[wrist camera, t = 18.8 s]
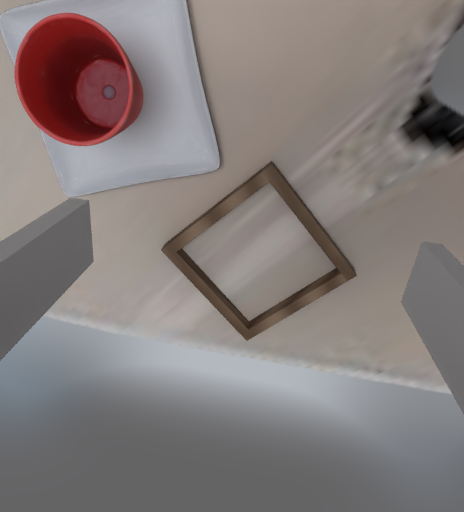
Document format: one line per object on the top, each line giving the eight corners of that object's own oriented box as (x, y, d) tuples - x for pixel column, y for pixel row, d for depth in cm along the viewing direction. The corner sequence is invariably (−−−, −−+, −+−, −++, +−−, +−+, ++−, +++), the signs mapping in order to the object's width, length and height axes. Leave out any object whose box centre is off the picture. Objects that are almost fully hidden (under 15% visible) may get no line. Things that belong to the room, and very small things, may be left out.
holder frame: (271, 160, 48) (271, 164, 46) (353, 268, 53) (356, 275, 51) (164, 244, 54) (161, 250, 53) (247, 332, 60) (246, 340, 58)
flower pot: (158, 44, 41) (132, 15, 32) (156, 148, 45) (132, 150, 35) (61, 37, 42) (7, 6, 32) (67, 141, 45) (19, 141, 35)
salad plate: (184, -33, 41) (176, -41, 38) (225, 164, 49) (222, 170, 46) (10, 17, 44) (-10, 13, 41) (77, 192, 53) (65, 199, 50)
